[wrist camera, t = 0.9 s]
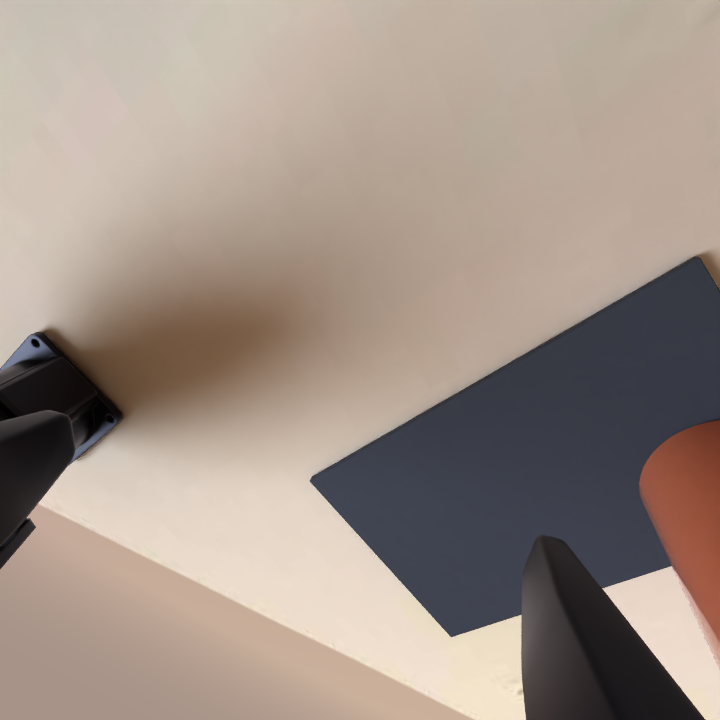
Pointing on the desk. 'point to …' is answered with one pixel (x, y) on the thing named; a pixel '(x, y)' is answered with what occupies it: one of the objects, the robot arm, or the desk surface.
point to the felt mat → (539, 456)
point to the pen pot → (689, 517)
